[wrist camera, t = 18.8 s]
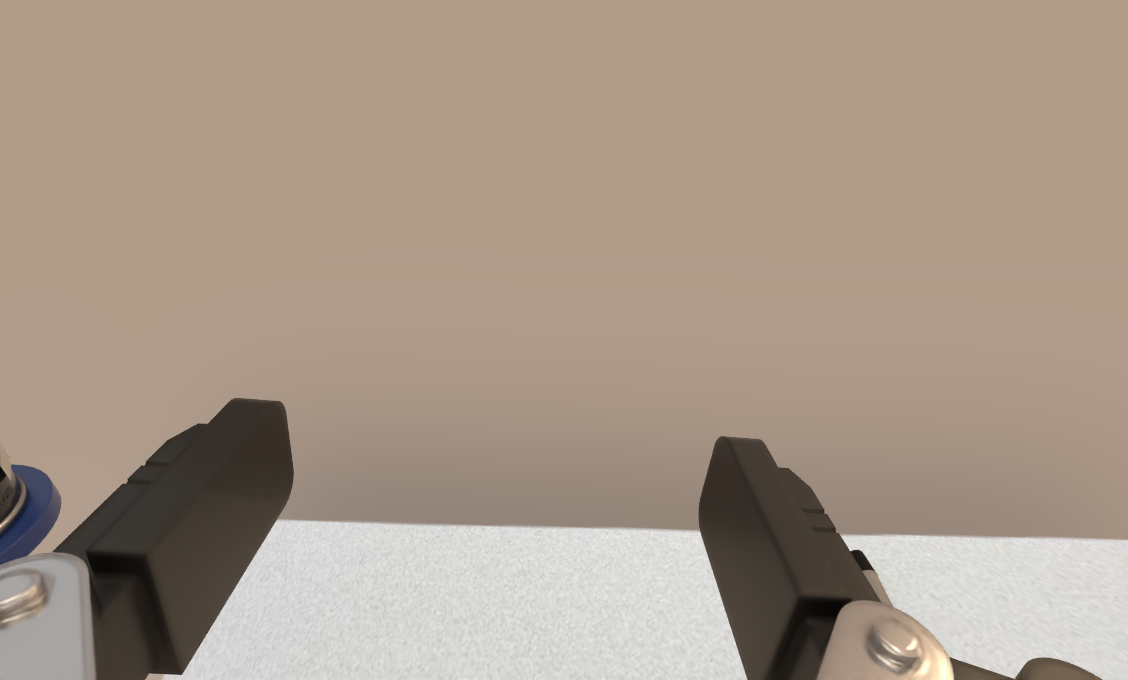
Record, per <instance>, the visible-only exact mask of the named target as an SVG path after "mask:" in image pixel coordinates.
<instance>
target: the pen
mask: <svg viewBox="0 0 1128 680" xmlns="http://www.w3.org/2000/svg"><path fill="white" fill-rule="evenodd" d="M851 554H852V555H853V557H854V559H855V560H856V562H857V563H858V565H859V567H860V568H861V570H862V571H863V573H864V575H865V576H866V578H867V580H868V581H869V583H870V584H871V586H872V588H873V589H874V591H875V593H876V594H877V596H878V597H879V599H880V601H881V602H882V603H883V604H886V605H889V606H892V607H893V605H892V603H891V602H890V600H889V598H888V596H887V594H886V592H885V590H884V588H883V586H882V584H881V582H880V580H879V578H878V575H877V573H876V572H875V570H874V569H873V567H872V566H871V564H870V563H869V561H868V560H867V558H866V557H865V555H864V554H863V552H862V551H860V550H853V551H851Z"/></svg>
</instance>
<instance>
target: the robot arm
mask: <svg viewBox="0 0 1128 680" xmlns="http://www.w3.org/2000/svg"><path fill="white" fill-rule="evenodd" d="M293 476H294V471H293V462H292V454H291V446H290V440H289V431H288V423H287V416H286V410H285V407H284V405H283V404H282V403H281V402H280V401H270V400H269V401H268V400H257V399H244V398H234V399H232V400H231V401H230V402H228V404H227V405H226V406H225V407H224V408H223V409H222V410H221V411H220V412H219V413H218V414H217V415H216V416H215V417H214V418H213V419H212V420H211V421H210V422H209V423H208V424H197V425H195V426H193V427H191V428H189V429H188V430H186V431H184V432H182V433H180V434H179V435H176V436H175V437H173V438H171V439H169V440H167V441H166V442H165V443H164V444H163V445H162V446H161V447H160V448H159V449H158V450H157V451H156V452H155V453H154V454H153V455H152V456H151V457H150V458H149V459H148V460H147V461H146V465H145V466H141V467H140V468H139V469H138V470H136V471H135V472H134V473H133V474H132V475H131V476H130V477H129V478H128V482H127V484H122V485H121V486H120V487H119V488H118V489H117V490H116V491H115V492H114V493H113V494H112V495H111V496H110V497H108V499H107V500H105V501H104V502H103V503H102V504H101V505H100V506H99V507H98V508H97V509H96V510H95V511H94V512H93V513H92V514H91V515H90V516H89V517H88V518H87V519H86V520H85V521H84V522H83V523H82V524H81V525H79V526H78V527H77V529H75V530H74V531H73V532H72V533H71V534H70V535H69V536H68V537H67V538H66V539H65V540H64V541H63V542H62V543H61V544H60V545H59V546H58V547H57V548H56V549H55V550H54V551H53V552H52V553H41V554H35V555H31V556H26V557H22V558H18V559H15V560H12V561H10V562H7V563H4V564H2V565H0V680H145V679H146V677H147V676H148V674H149V673H153V674H174V675H182V674H183V672H184V670H185V669H186V667H187V666H188V664H189V662H190V661H191V659H192V657H193V656H194V654H195V652H196V651H197V649H198V648H199V646H200V644H201V643H202V641H203V639H204V638H205V636H206V634H207V633H208V631H209V630H210V628H211V626H212V625H213V623H214V621H215V620H216V618H217V616H218V615H219V613H220V612H221V610H222V608H223V607H224V605H225V603H226V602H227V600H228V598H229V597H230V595H231V594H232V592H233V590H234V589H235V587H236V585H237V584H238V582H239V580H240V579H241V577H242V576H243V574H244V572H245V571H246V569H247V567H248V566H249V564H250V562H251V561H252V559H253V558H254V556H255V554H256V553H257V551H258V549H259V548H260V546H261V544H262V543H263V541H264V540H265V538H266V536H267V535H268V533H269V531H270V530H271V528H272V526H273V525H274V523H275V522H276V520H277V518H278V517H279V515H280V513H281V512H282V510H283V508H284V507H285V505H286V503H287V501H288V499H289V496H290V493H291V489H292V484H293ZM28 501H29V490H28V488H27V486H26V485H25V483H24V482H23V480H22V479H21V478H20V477H19V476H18V475H16V474H15V473H14V472H13V470H12V469H11V462H10V456H9V455H8V453H7V452H6V450H5V449H4V447H3V446H2V445H1V443H0V538H1V537H2V536H3V535H4V534H5V533H6V532H7V531H8V530H9V529H10V528H11V527H12V526H13V525H14V524H15V523H16V522H17V521H18V520H19V518H20V517H21V515H22V514H23V512H24V511H25V509H26V507H27V504H28ZM699 527H700V532H701V535H702V539H703V542H704V545H705V548H706V551H707V554H708V557H709V561H710V564H711V567H712V570H713V573H714V576H715V579H716V582H717V586H718V589H719V592H720V595H721V598H722V601H723V604H724V607H725V611H726V614H727V617H728V620H729V623H730V626H731V629H732V632H733V636H734V639H735V642H736V645H737V648H738V651H739V654H740V657H741V661H742V664H743V667H744V670H745V673H746V676H747V679H748V680H1102V679H1100V678H1099V677H1097V676H1095V675H1094V674H1092V673H1090V672H1088V671H1086V670H1084V669H1082V668H1080V667H1078V666H1075V665H1073V664H1070V663H1068V662H1064V661H1061V660H1058V659H1052V658H1036V659H1032V660H1030V661H1028V662H1027V663H1026V664H1025V665H1024V667H1023V668H1022V669H1021V671H1020V672H1019V674H1018V675H1017V676H1016V678H1015V679H1013V678H1010V677H1007V676H1004V675H1001V674H998V673H995V672H992V671H989V670H986V669H983V668H980V667H977V666H974V665H971V664H968V663H965V662H962V661H959V660H956V659H953V658H951V657H949V656H948V654H947V653H946V651H945V649H944V648H943V646H942V645H941V644H940V642H939V641H938V640H937V639H936V638H935V636H934V635H933V634H932V633H931V632H930V631H929V630H928V629H926V628H925V627H924V626H923V625H922V624H920V623H919V622H918V621H916V620H915V619H914V618H912V617H911V616H909V615H907V614H906V613H904V612H902V611H900V610H898V609H896V608H894V607H892V606H889V605H886V604H883V603H882V602H881V601H880V599H879V597H878V596H877V594H876V593H875V591H874V589H873V588H872V586H871V584H870V583H869V581H868V580H867V578H866V576H865V575H864V573H863V571H862V570H861V568H860V567H859V565H858V563H857V562H856V560H855V559H854V557H853V555H852V554H851V552H850V550H849V549H848V547H847V546H846V544H845V542H844V541H843V539H842V537H841V536H840V534H839V533H836V528H835V526H834V524H833V523H832V521H831V520H830V518H829V516H828V515H827V514H824V508H823V507H822V505H821V504H820V502H819V500H818V499H817V497H816V495H815V494H814V492H813V490H812V489H811V488H810V487H809V486H808V485H807V484H806V483H805V482H804V481H802V480H801V479H800V478H799V477H798V476H797V475H796V474H794V473H793V472H792V471H791V470H790V469H789V468H778V467H777V465H776V463H775V461H774V459H773V458H772V456H771V454H770V452H769V450H768V449H767V447H766V445H765V444H764V442H763V441H762V440H759V439H749V438H736V437H723V436H722V437H719V438H718V440H717V441H716V443H715V446H714V449H713V453H712V457H711V460H710V464H709V468H708V472H707V475H706V479H705V483H704V486H703V490H702V494H701V498H700V503H699Z"/></svg>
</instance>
